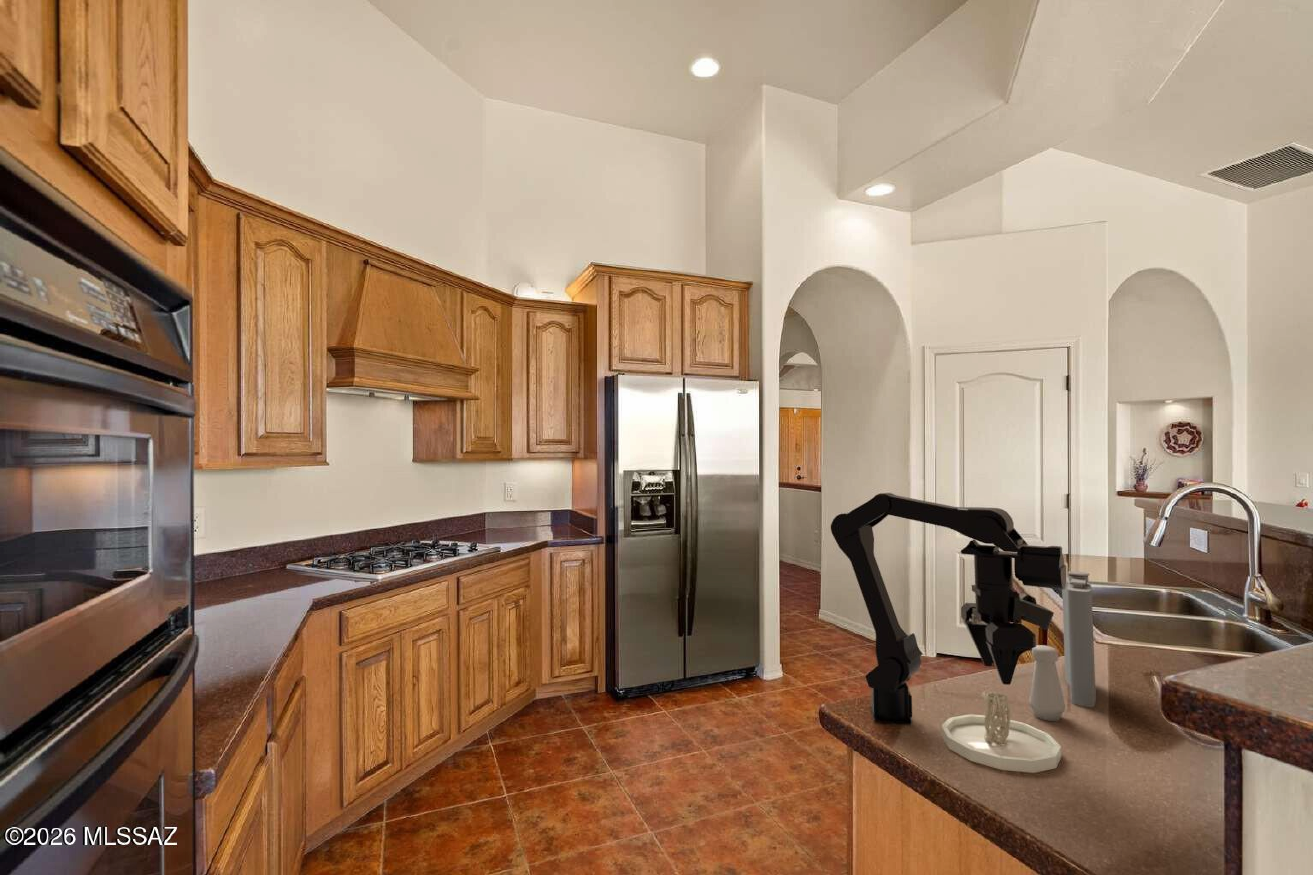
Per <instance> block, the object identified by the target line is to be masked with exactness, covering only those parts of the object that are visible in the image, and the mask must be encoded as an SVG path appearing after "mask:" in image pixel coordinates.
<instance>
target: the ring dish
mask: <svg viewBox="0 0 1313 875" xmlns="http://www.w3.org/2000/svg"><path fill="white" fill-rule="evenodd" d="M985 716H986V715H984V714H983V715H982V714H970V713H969V714H964V715H957V716H952V717H949V718H947V720H945V722H944V723H943V724H942V725H941V737H942V740H943V742H944V743H945V745H946V747H947V748H948V749H949V750H951V751H952V752H955V753H956V754H958V755H959V756H961V757H963V758H965V759H966V760H969V761H970V762H974V763H977V764H981V765H983V766H986V767H987V766H988V767H991V768H994V769H997V770H1000V771H1008V772H1011V771H1012V772H1020V773H1021V772H1022V773H1032V774H1035V773H1039V772H1040V773H1041V772H1044V771H1048V770H1053V769H1057V767H1058V765H1059V762H1060V761H1061V759H1062V746H1061V745H1060V743H1058V742H1057V741H1056V739H1055V738H1054V737H1052V736H1051V735H1050V733H1047V732H1046V731H1043V730H1040V729H1038V728H1036V727H1034V726H1032V725H1029V724H1027V723H1025V722H1020V721H1017V720H1014V719H1013V720H1012V719H1010V725H1009V735H1008V737H1007V739H1006V741H1007V743H1006V744H1001V743H998V742H996V743H994V742H991V741H986V740H985V739H984V735H985V733H986V729H985V724H984V722H985ZM992 717H993V715H992ZM996 718H997V716H995V719H996ZM995 719H994V721H995ZM1001 720H1002V718H1001ZM1002 722H1003V721H1002ZM1006 722H1007V718H1006ZM996 727H997V729H998V730H999V729H1000V725H997V724H996ZM989 728H991V720H990V724H989ZM994 730H995V729H994ZM995 732H996V731H995ZM996 733H997V732H996ZM999 736H1000V735H999ZM999 736H998V737H999Z"/></svg>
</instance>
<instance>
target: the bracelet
mask: <svg viewBox="0 0 1313 875" xmlns="http://www.w3.org/2000/svg"><path fill="white" fill-rule="evenodd" d="M982 696H983V698H984V703H985V707H986V713H985V715H984V716H985V722H984V724H985V729H986V733H985V735H984V739H985V740H986V741H991V742H994V743H996V742H998V743H1001V744H1006V743H1007V741H1006V739H1007V737H1008V735H1009V725H1010V720H1011V711H1012V710H1011V706H1010V702H1009V698H1008V696H1007V695H1005V694H1003V693H999V692H996V691H992V692H991V691H983V692H982ZM993 705H994V707H995V708H994V711H993ZM992 716H993V717H992ZM995 716H997V718H996V719H995ZM1001 718H1002V720H1001ZM994 719H995V721H994ZM1006 719H1007V722H1006ZM990 720H991V728H989V724H990ZM1002 721H1003V722H1002ZM996 724H997V725H1000V729H999V730H998V729H997V727H996ZM994 729H995V730H994ZM995 731H996V732H997V733H996V732H995ZM999 735H1000V736H999ZM998 736H999V737H998Z"/></svg>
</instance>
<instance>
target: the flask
mask: <svg viewBox="0 0 1313 875" xmlns="http://www.w3.org/2000/svg"><path fill="white" fill-rule="evenodd" d="M1089 576H1090V573H1089V572H1087V571H1076V570H1075V571H1073V570H1072V571H1070V570H1069V571H1067V576H1066V586H1065V589H1064V590H1063V589H1061V593H1062V594H1061V595H1062V596H1061V597H1062V598H1061V600H1062V624H1063V644H1064V645H1063V652H1064V676H1065V678H1064V679H1065V682H1066V683H1067V684H1068V686H1069V688H1070V702H1071V704H1073V705H1074V706H1078V707H1084V708H1094V707H1095V706H1096V700H1097V697H1096V696H1097V695H1096V691H1097V690H1096V670H1095V669H1096V668H1095V665H1096V664H1095V643H1094V641H1095V640H1094V639H1095V638H1094V618H1093V617H1094V616H1093V613H1094V612H1093V596H1092V595H1093V593H1092V592H1093V590H1092V585H1091V584H1090V581H1089Z"/></svg>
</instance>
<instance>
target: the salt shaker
mask: <svg viewBox="0 0 1313 875" xmlns="http://www.w3.org/2000/svg"><path fill="white" fill-rule="evenodd" d="M1059 656H1060V654H1059V651H1058V650H1057V649H1056V648H1054V647H1053V646H1050V645H1045V644H1041V645H1040V644H1036V647H1035V648H1032V649H1031V657H1032V658H1033V659H1034V660H1035V663H1034V670H1033V674H1032V675H1033V676H1032V682H1031V688H1030V694H1029V699H1028V703H1029V704H1028V705H1029V706H1030V707H1031V710H1032V712H1033V713H1034V715H1035V717H1036V718H1038V719H1041V720H1044V721H1047V722H1049V721H1050V722H1058V721H1060V720H1061V718H1062V716H1063V714H1064V712H1065V710H1066V703H1065V699H1064V695H1063V691H1062V686H1061V681H1060V678H1059V672H1058V669H1057V665H1056V662H1058V660H1059Z"/></svg>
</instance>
